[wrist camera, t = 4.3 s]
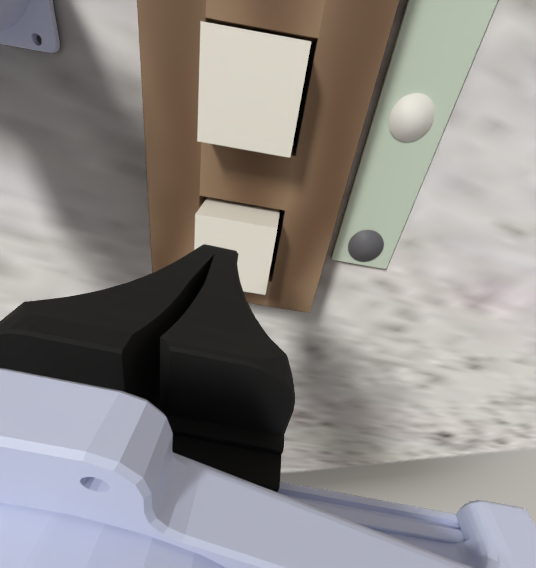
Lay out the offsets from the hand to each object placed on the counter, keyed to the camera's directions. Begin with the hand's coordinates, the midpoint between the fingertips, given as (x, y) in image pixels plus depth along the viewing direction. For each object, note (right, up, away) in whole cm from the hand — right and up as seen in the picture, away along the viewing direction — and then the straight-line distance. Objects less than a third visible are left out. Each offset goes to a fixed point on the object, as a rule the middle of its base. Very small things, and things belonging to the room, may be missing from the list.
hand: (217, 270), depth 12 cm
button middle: (+1, +9, +4) cm, 10 cm away
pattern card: (+10, +9, +6) cm, 15 cm away
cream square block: (0, +3, +9) cm, 9 cm away
